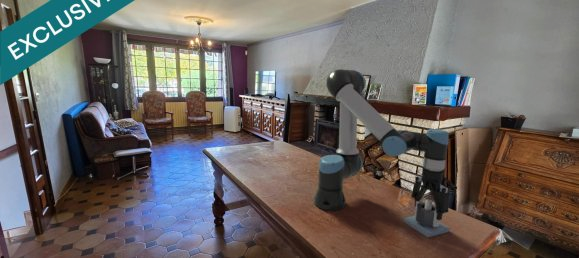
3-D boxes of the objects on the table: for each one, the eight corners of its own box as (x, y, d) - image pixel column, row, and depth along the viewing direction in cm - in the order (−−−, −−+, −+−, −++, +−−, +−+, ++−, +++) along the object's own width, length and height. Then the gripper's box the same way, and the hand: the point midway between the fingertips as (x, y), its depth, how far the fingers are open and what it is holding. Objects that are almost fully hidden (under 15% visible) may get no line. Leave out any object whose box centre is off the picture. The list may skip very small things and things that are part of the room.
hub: (427, 227, 98) (429, 213, 97) (411, 217, 105) (412, 204, 104) (442, 224, 101) (444, 210, 100) (425, 214, 108) (426, 201, 107)
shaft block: (427, 237, 96) (431, 210, 94) (403, 221, 107) (406, 196, 105) (449, 231, 100) (453, 205, 98) (424, 216, 111) (427, 192, 109)
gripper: (466, 176, 91) (457, 232, 95) (418, 159, 110) (412, 207, 114) (451, 178, 88) (443, 236, 92) (405, 161, 107) (400, 209, 111)
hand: (426, 220), depth 103 cm, fingers closed on hub, 8 cm apart
